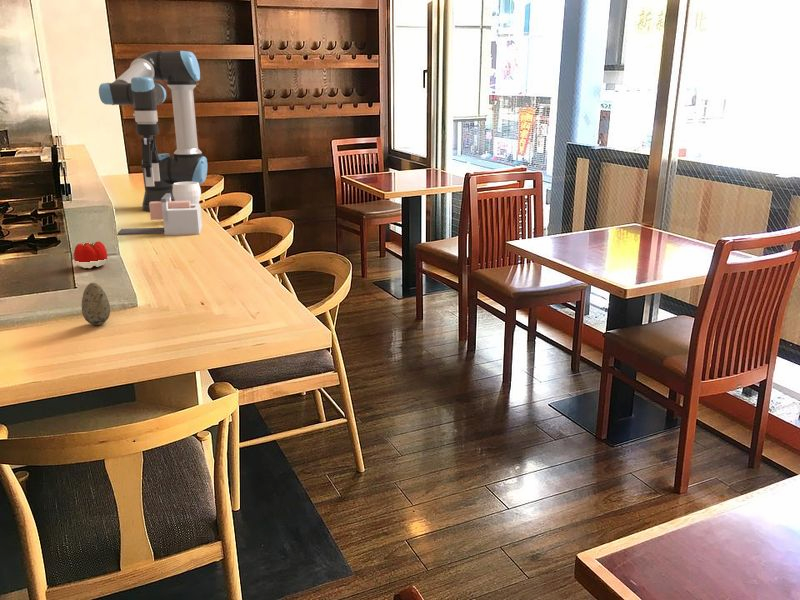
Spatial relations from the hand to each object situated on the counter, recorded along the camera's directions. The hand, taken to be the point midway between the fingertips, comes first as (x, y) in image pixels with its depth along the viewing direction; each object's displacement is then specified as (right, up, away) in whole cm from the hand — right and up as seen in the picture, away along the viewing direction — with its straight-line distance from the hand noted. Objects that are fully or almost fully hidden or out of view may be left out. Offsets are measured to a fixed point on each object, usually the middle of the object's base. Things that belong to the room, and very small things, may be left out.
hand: (153, 183), depth 245 cm
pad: (-6, -17, +6) cm, 19 cm away
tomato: (-3, -32, -41) cm, 52 cm away
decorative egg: (+20, -48, -88) cm, 102 cm away
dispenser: (+9, -16, +7) cm, 20 cm away
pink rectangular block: (+5, -12, +5) cm, 14 cm away
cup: (+5, -11, +25) cm, 28 cm away
